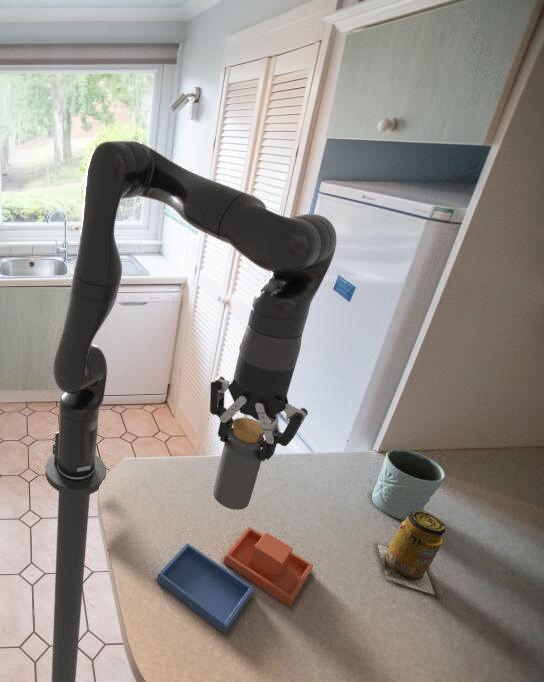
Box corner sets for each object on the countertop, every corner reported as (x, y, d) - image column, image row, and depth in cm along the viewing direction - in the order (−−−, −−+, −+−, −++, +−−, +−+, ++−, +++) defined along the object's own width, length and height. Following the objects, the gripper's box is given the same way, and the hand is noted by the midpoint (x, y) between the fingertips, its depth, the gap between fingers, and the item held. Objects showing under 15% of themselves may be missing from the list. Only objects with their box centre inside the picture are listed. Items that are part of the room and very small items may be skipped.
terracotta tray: (223, 562, 88) (225, 555, 87) (246, 533, 94) (248, 526, 93) (289, 607, 79) (292, 599, 79) (310, 572, 86) (313, 565, 85)
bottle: (214, 506, 76) (232, 433, 69) (211, 482, 81) (227, 412, 74) (251, 513, 74) (273, 440, 68) (246, 488, 79) (266, 418, 73)
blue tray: (156, 581, 84) (158, 573, 83) (185, 549, 90) (187, 542, 89) (224, 634, 75) (227, 626, 74) (251, 595, 81) (254, 588, 80)
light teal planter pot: (391, 486, 106) (409, 445, 101) (436, 518, 97) (459, 475, 92) (357, 494, 104) (374, 453, 99) (400, 529, 95) (421, 485, 90)
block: (248, 565, 86) (254, 546, 84) (259, 550, 90) (265, 531, 87) (275, 582, 83) (282, 563, 81) (286, 566, 86) (293, 548, 84)
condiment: (421, 558, 88) (445, 513, 83) (434, 595, 81) (461, 548, 76) (376, 545, 91) (397, 500, 86) (385, 579, 84) (408, 533, 79)
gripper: (330, 365, 63) (299, 460, 71) (231, 333, 73) (212, 420, 80) (312, 384, 59) (280, 483, 66) (208, 347, 68) (190, 438, 75)
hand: (243, 448), depth 73 cm, fingers closed on bottle, 5 cm apart
